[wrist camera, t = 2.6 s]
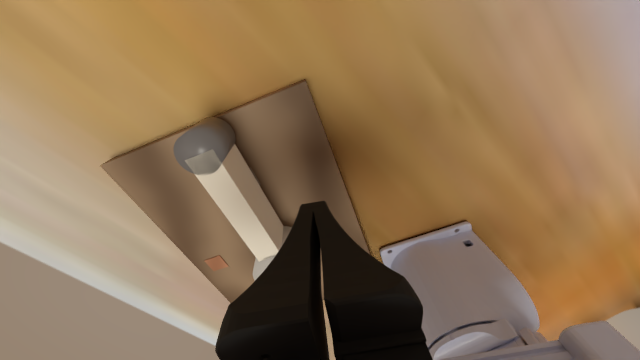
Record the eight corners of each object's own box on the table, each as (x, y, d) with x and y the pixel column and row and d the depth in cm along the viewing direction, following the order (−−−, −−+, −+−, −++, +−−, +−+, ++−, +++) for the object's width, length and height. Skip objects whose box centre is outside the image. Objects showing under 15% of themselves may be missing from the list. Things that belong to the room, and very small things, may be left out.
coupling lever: (314, 253, 22) (317, 282, 19) (272, 267, 23) (268, 298, 20) (234, 106, 15) (220, 119, 12) (175, 130, 16) (149, 148, 13)
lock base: (305, 78, 16) (305, 81, 15) (377, 273, 27) (381, 284, 26) (111, 158, 18) (96, 167, 17) (250, 312, 29) (248, 324, 28)
